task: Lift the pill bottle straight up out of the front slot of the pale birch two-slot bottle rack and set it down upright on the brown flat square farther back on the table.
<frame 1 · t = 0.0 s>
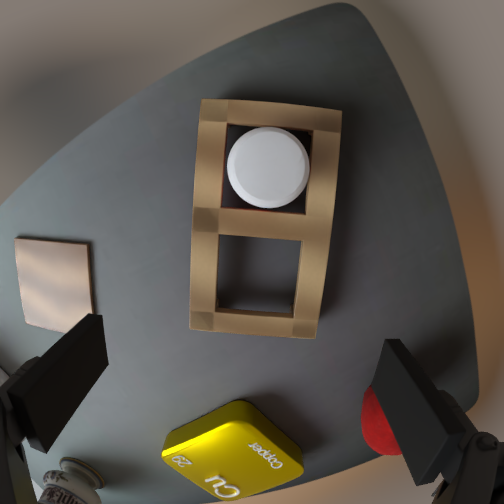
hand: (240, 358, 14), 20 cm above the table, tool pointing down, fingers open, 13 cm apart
bottle rack: (262, 219, 32), on the table
apple: (384, 386, 37), on the table
brown flat square: (53, 287, 35), on the table
apothecary jar: (82, 472, 44), on the table
element tile: (234, 446, 40), on the table
pill bottle: (266, 168, 31), resting in bottle rack
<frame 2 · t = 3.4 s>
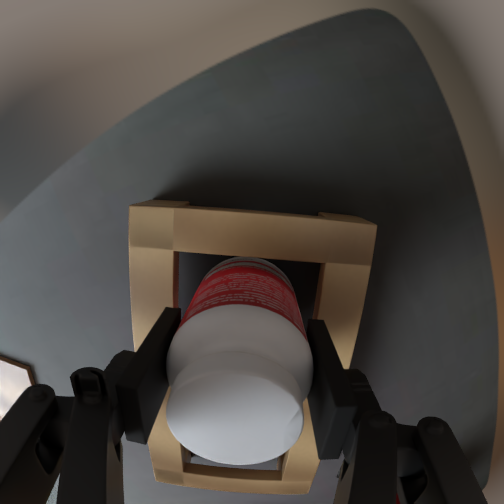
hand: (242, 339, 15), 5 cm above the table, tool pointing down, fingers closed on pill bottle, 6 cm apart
bottle rack: (241, 367, 21), on the table
brown flat square: (5, 397, 24), on the table
pill bottle: (246, 300, 20), resting in bottle rack, touching gripper
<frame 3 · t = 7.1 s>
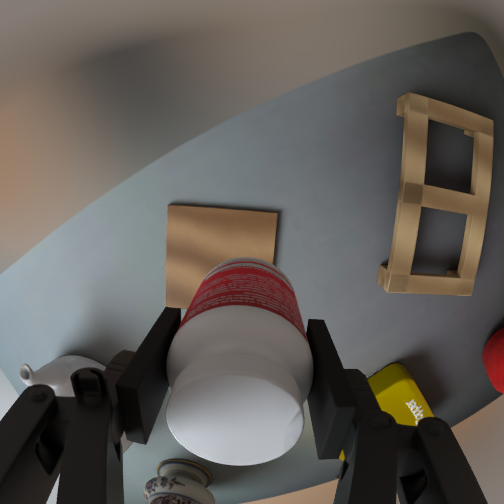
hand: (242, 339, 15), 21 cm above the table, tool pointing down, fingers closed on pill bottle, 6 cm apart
bottle rack: (435, 197, 34), on the table
apple: (493, 341, 39), on the table
brown flat square: (218, 261, 36), on the table
apothecary jar: (184, 474, 46), on the table
teapot: (94, 397, 42), on the table
element tile: (374, 413, 42), on the table
pill bottle: (246, 301, 20), point 16 cm above the table, touching gripper
when the fingers open (5 cm above the table, at t = 11.2 s): pill bottle stays where it is, resting on brown flat square.
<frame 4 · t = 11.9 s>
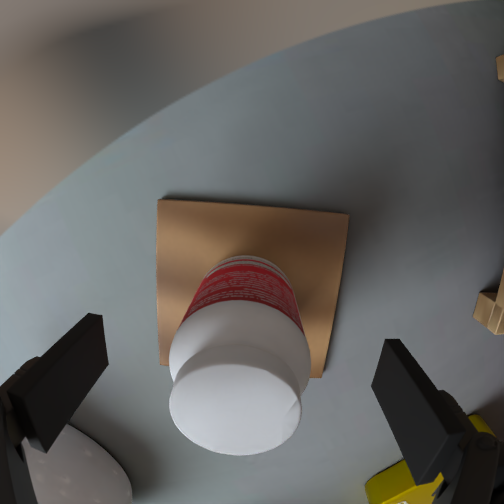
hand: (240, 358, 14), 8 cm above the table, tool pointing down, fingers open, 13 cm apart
brown flat square: (246, 295, 21), on the table
teapot: (72, 460, 27), on the table
element tile: (434, 470, 27), on the table
pill bottle: (246, 298, 21), resting on brown flat square
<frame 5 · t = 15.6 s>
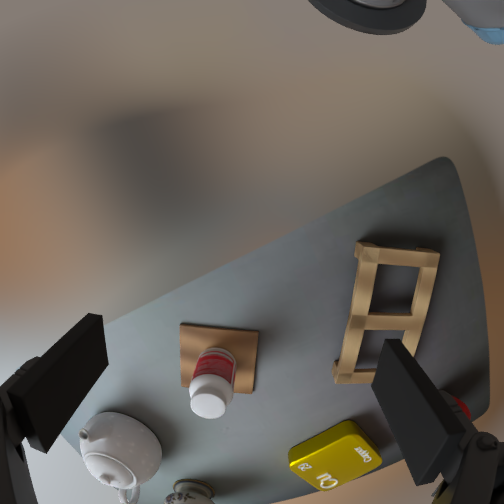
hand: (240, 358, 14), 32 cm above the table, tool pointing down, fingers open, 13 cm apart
bottle rack: (381, 313, 47), on the table
brown flat square: (217, 360, 50), on the table
apothecary jar: (194, 489, 59), on the table
teapot: (126, 437, 55), on the table
element tile: (334, 451, 55), on the table
pill bottle: (217, 361, 49), resting on brown flat square
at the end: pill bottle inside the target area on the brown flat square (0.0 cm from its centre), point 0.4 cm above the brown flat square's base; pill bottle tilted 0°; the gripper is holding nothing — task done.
